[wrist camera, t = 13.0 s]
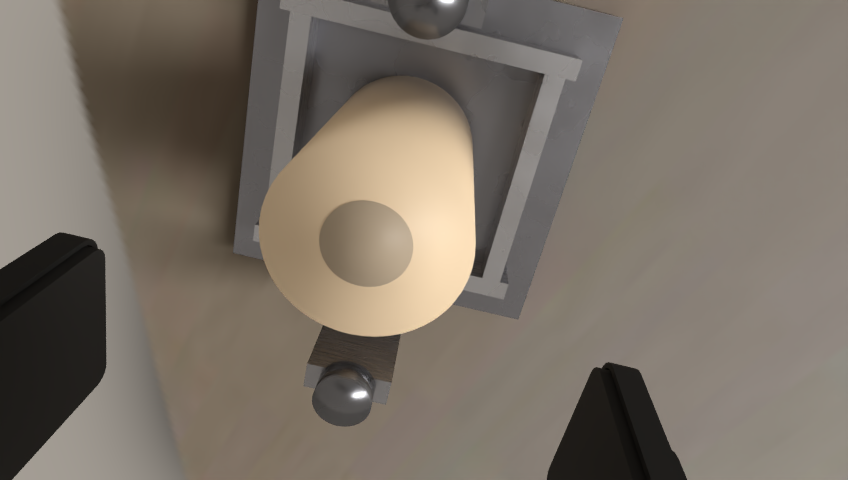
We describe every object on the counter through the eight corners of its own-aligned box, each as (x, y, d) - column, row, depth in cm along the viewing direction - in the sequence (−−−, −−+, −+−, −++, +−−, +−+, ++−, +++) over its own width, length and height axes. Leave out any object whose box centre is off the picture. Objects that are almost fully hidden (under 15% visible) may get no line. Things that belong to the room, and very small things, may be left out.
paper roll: (488, 94, 24) (501, 168, 15) (453, 225, 27) (446, 356, 18) (345, 60, 24) (270, 114, 15) (323, 195, 26) (248, 312, 17)
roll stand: (622, 3, 23) (719, 23, 14) (513, 316, 30) (533, 469, 21) (274, -85, 23) (146, -121, 14) (239, 252, 29) (135, 380, 20)
